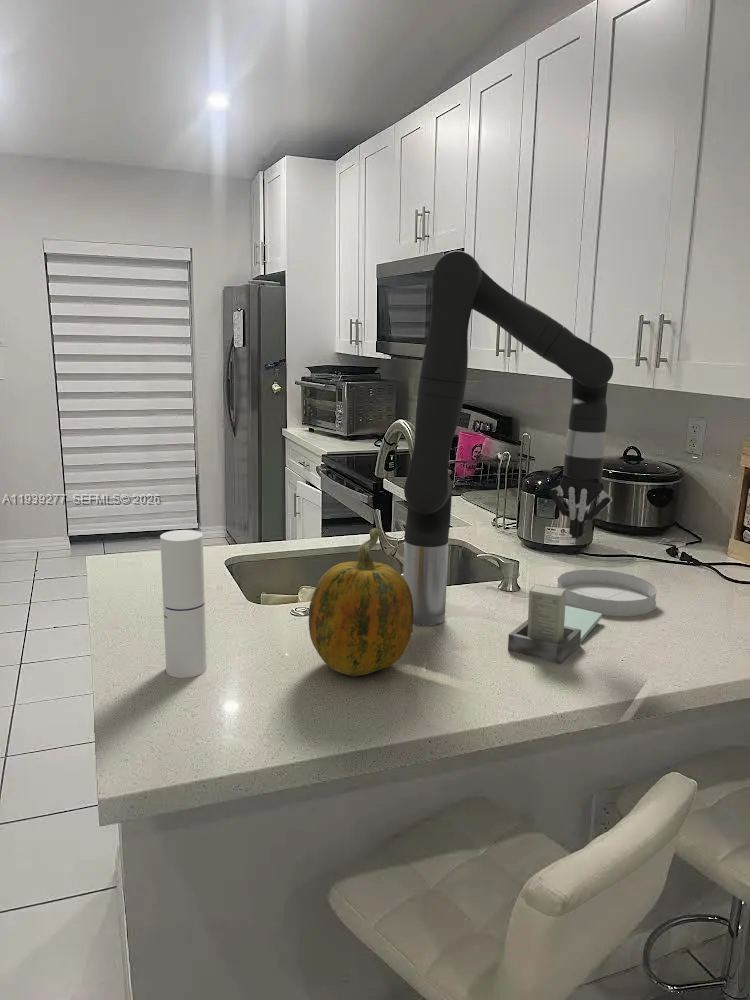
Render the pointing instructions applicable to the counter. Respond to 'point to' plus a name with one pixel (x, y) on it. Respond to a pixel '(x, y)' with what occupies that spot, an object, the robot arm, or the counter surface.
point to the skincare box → (546, 613)
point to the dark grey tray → (544, 644)
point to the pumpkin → (361, 614)
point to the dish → (608, 592)
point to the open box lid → (581, 620)
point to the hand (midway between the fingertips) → (576, 537)
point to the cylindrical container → (184, 603)
